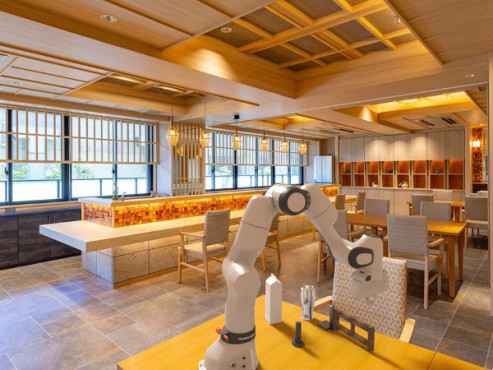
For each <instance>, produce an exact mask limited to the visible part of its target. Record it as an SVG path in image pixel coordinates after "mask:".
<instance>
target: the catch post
mask: <svg viewBox="0 0 493 370" xmlns="http://www.w3.org/2000/svg"><path fill="white" fill-rule="evenodd" d="M294 328H295V329H294V334H295V336H294V337H295V338H293V339H292V341H291V344H292V346H293V347H295V348H301V347H304V345H305V341H304V339H302V322H301V321H299V320H298V321H295V327H294Z"/></svg>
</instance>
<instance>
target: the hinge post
mask: <svg viewBox="0 0 493 370" xmlns="http://www.w3.org/2000/svg"><path fill="white" fill-rule="evenodd" d="M334 308H336V305H335V304H330V305H329V319H328V320H329V321H328V320H327V319H325V320H322V321H318V322H316V326H318V327H320V329H323V330H324V331H332V332H333V331H335V330H334V329H333V319H334Z"/></svg>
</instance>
